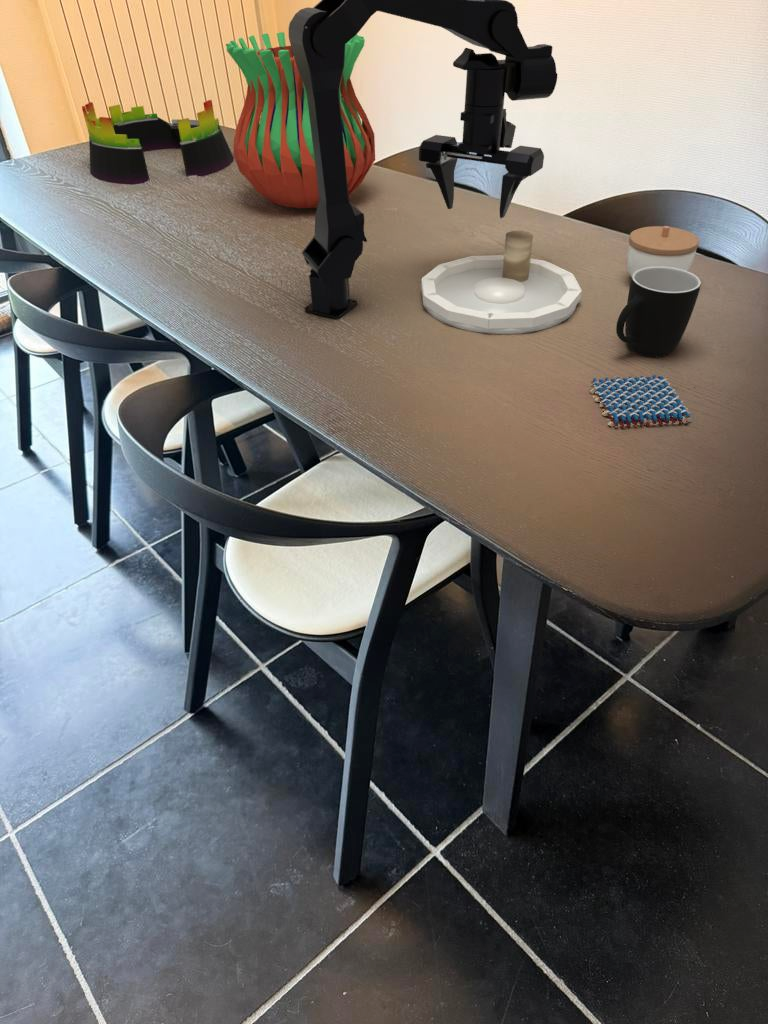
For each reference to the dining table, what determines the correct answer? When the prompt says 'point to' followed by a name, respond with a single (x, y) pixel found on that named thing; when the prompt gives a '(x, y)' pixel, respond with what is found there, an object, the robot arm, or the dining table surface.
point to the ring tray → (499, 296)
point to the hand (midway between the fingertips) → (475, 212)
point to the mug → (657, 309)
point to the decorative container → (152, 143)
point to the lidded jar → (661, 248)
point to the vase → (292, 124)
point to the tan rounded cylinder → (517, 255)
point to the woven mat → (638, 401)
